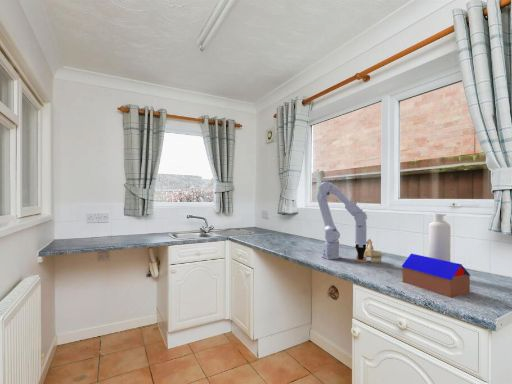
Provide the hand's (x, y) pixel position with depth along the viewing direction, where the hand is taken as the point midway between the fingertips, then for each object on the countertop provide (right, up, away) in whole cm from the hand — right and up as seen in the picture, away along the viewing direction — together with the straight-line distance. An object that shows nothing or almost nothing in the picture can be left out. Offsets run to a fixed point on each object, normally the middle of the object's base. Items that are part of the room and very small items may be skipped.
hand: (360, 258), depth 154 cm
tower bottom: (+7, -2, -3) cm, 8 cm away
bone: (+12, -2, +17) cm, 20 cm away
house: (+13, -2, -43) cm, 45 cm away
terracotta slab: (0, -1, 0) cm, 1 cm away
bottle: (+25, -2, -28) cm, 38 cm away
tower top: (+7, +1, -3) cm, 8 cm away
